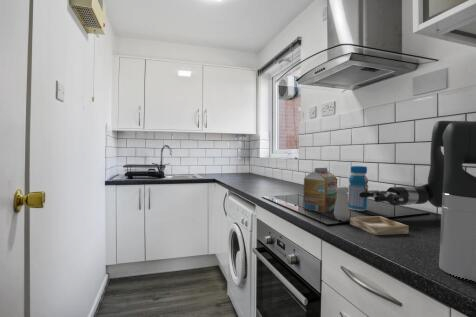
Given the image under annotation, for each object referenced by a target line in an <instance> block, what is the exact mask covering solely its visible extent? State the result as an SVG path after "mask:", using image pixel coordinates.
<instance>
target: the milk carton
mask: <svg viewBox="0 0 476 317" xmlns="http://www.w3.org/2000/svg"><path fill="white" fill-rule="evenodd" d="M337 187H338V178H337V177H336V176H335V175H334V174H333V173H331V172H330V171H328V167H314V170H313V171H312V172H309V173H308V174H307V175H305V177H304V178H303V197H302V198H303V199H302V204H303V205H302V209H303V208H304V210H307V209H308V211H312V210H313V211H312V212H318V213H321V212H323V213H322V214H326V213H330V212H334V211H333V210H334V208H335V204H336V200H337V196H338V192H337V191H336V189H337ZM325 212H326V213H325Z"/></svg>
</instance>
